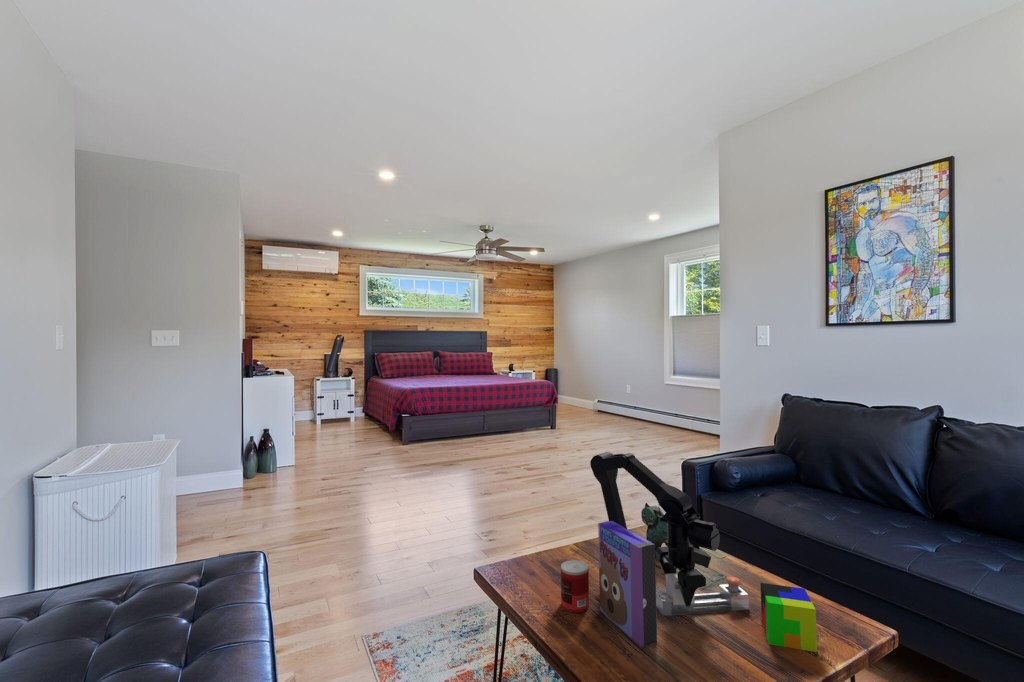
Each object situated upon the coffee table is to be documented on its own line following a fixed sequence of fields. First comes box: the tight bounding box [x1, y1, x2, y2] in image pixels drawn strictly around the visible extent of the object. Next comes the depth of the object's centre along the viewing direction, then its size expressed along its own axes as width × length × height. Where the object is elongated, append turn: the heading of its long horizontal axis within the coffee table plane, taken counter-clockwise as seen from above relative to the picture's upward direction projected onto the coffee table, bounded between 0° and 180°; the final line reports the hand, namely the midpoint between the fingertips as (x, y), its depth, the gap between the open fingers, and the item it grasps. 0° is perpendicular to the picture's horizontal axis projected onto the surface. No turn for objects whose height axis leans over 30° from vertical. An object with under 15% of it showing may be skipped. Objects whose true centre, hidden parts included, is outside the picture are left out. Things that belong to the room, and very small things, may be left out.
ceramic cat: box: [641, 502, 696, 569], centre depth 155 cm, size 20×6×20 cm, turn 28°
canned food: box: [560, 559, 590, 614], centre depth 130 cm, size 8×8×11 cm
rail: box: [656, 583, 750, 617], centre depth 129 cm, size 24×6×4 cm, turn 96°
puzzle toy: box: [760, 582, 818, 653], centre depth 115 cm, size 10×10×10 cm
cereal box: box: [597, 520, 658, 648], centre depth 120 cm, size 17×5×24 cm, turn 23°
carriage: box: [665, 572, 696, 605], centre depth 128 cm, size 6×5×6 cm
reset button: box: [725, 575, 741, 593], centre depth 130 cm, size 4×4×5 cm
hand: (679, 596), depth 128 cm, fingers open, 9 cm apart
